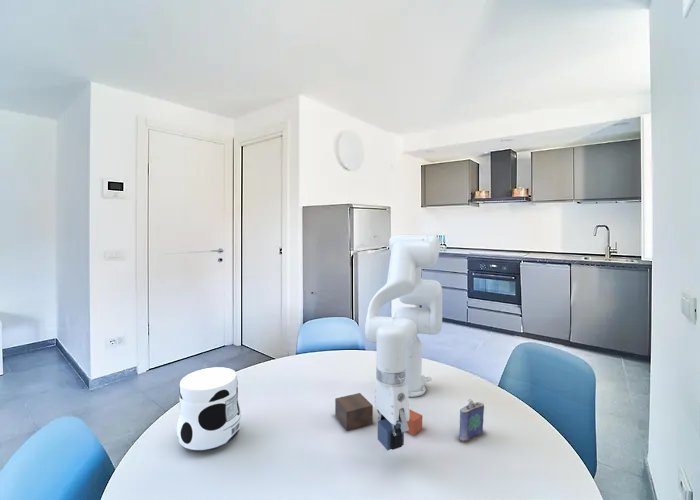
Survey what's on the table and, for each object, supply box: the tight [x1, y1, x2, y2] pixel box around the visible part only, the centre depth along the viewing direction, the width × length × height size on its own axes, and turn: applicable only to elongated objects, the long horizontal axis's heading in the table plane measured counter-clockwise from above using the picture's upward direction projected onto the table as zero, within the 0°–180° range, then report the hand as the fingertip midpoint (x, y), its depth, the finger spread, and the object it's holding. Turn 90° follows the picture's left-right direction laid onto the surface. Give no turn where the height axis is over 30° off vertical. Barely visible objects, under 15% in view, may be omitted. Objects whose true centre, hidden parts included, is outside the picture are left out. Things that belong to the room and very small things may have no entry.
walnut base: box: [334, 392, 374, 432], centre depth 108 cm, size 9×9×6 cm
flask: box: [458, 398, 485, 443], centre depth 100 cm, size 9×3×11 cm, turn 121°
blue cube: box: [377, 419, 405, 451], centre depth 88 cm, size 5×5×5 cm
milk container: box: [176, 366, 242, 452], centre depth 98 cm, size 17×17×18 cm
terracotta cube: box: [405, 409, 423, 436], centre depth 103 cm, size 4×4×4 cm
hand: (390, 440), depth 89 cm, fingers closed on blue cube, 5 cm apart
